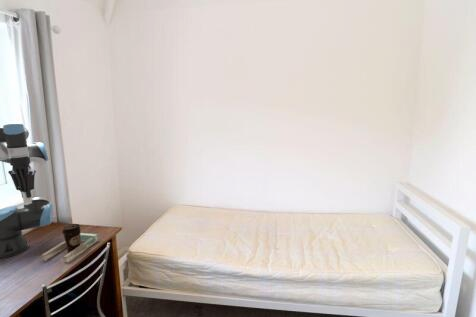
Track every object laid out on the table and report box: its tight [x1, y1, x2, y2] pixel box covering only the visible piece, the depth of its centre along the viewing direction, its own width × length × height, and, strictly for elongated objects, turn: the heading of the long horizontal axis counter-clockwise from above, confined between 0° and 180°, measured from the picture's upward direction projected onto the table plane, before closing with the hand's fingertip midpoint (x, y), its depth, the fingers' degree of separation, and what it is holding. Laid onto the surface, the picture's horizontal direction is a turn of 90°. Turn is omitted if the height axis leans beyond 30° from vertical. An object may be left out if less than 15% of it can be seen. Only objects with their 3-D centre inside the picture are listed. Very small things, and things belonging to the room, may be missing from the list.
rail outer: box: [63, 237, 96, 263], centre depth 143 cm, size 2×20×3 cm, turn 170°
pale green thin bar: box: [41, 240, 67, 262], centre depth 145 cm, size 2×20×3 cm, turn 170°
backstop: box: [80, 232, 99, 243], centre depth 155 cm, size 14×2×4 cm, turn 80°
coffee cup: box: [61, 223, 82, 253], centre depth 145 cm, size 9×8×13 cm
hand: (28, 203), depth 132 cm, fingers closed
